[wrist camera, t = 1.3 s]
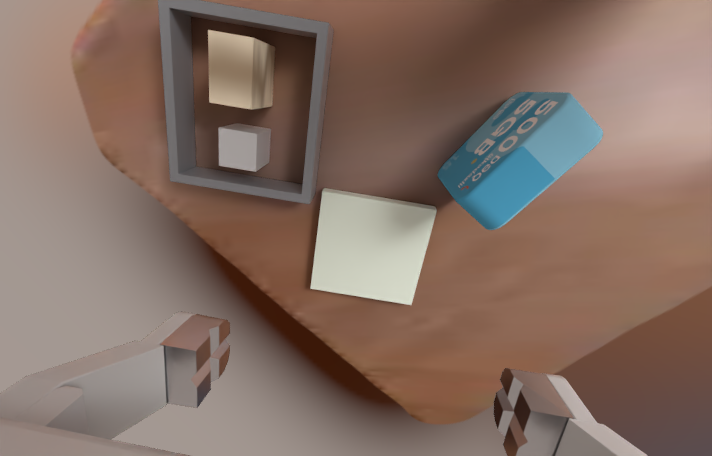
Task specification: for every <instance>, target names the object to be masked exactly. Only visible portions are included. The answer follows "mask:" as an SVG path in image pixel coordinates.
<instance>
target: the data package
mask: <svg viewBox="0 0 712 456" xmlns="http://www.w3.org/2000/svg"><path fill="white" fill-rule="evenodd" d="M602 136H603V131H602V129H601V128H600V127H599V126H598V124H597V123H596V122H595V121H594V120H593V119H592V118H591V116H590V115H589V114H588V113H587V112H586V111H585V110H584V108H583V107H582V106H581V105H580V104H579V103H578V101H577V100H576V99H575V98H574V97H573V96H572V95H571V94H570V93H556V92H519V93H517V94H515V95H513V96H512V97H510V98H509V99H508V100H507V101H506V102H505V103H504V104H503V105H502V106H501V107H500V108H499V109H498V110H497V111H496V112H495V113H494V114H493V115H492V116H491V117H490V118H489V119H488V120H487V121H486V122H485V123H484V124H483V125H482V126H481V127H480V128H479V129H478V130H477V131H476V132H475V133H474V134H473V135H472V136H471V137H470V138H469V139H468V140H467V141H466V142H465V143H464V144H463V145H462V146H461V147H460V148H459V149H458V150H457V151H456V152H455V153H454V154H453V155H452V156H451V157H450V158H449V159H448V160H447V161H446V162H445V163H444V165H443V166H442V167H441V168H440V170H439V172H438V178H439V179H440V181H441V182H442V183H443V185H444V186H445V187H446V189H447V190H448V191H449V193H450V194H451V195H452V197H453V198H454V199H455V201H456V202H457V203H458V204H460V205H461V206H462V207H463V208H464V209H465V210H466V211H467V212H468V213H469V214H470V215H471V216H473V217H474V218H475V219H476V220H477V221H478V222H479V223H480V224H481V225H482V226H483V227H485V228H486V229H488V230H495V229H498V228H500V227H502V226H503V225H505V224H506V223H507V222H509V221H510V220H511V219H512V218H513V217H514V216H515V215H517V214H518V213H519V212H520V211H521V210H522V209H524V208H525V207H526V206H527V205H528V204H529V203H531V202H532V201H533V200H534V199H535V198H536V197H537V196H539V195H540V194H541V193H542V192H543V191H544V190H546V189H547V188H548V187H549V186H550V185H551V184H553V183H554V182H555V181H556V180H557V179H558V178H559V177H561V176H562V175H563V174H564V173H565V172H566V171H568V170H569V169H570V168H571V167H572V166H573V165H575V164H576V163H577V162H578V161H579V160H580V159H582V158H583V157H584V156H585V155H586V154H587V153H588V152H590V151H591V150H592V149H593V148H594V147H595V146H596V145H597V144H598V143H599V142H600V140H601V138H602Z"/></svg>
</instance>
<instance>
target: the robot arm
mask: <svg viewBox="0 0 712 456" xmlns="http://www.w3.org/2000/svg"><path fill="white" fill-rule="evenodd" d="M229 333H230V323H229V322H228V320H224V319H219V318H214V317H208V316H204V315H199V314H193V313H187V312H177V313H175V314H174V315H173V316H171V317H170V318H169V319H168V320H166V321H165V322H164V323H163V324H161V325H160V326H159V327H158V328H157V329H155V330H154V331H153V332H152V333H150V334H149V335H148V336H147V337H145V338H144V339H143V340H141V341H132V342H129V343H126V344H123V345H120V346H117V347H114V348H111V349H108V350H105V351H102V352H99V353H96V354H93V355H90V356H87V357H83V358H80V359H77V360H74V361H71V362H68V363H65V364H62V365H59V366H56V367H53V368H50V369H47V370H44V371H41V372H38V373H35V374H32V375H28V376H26V377H24V378H23V379H21V380H20V381H18V382H16V383H15V384H13V385H12V386H10V387H9V388H7V389H6V390H4V391H3V392H1V393H0V456H189V455H185V454H180V453H174V452H170V451H165V450H160V449H155V448H150V447H145V446H140V445H135V444H130V443H126V442H121V441H115V440H111V439H112V438H114V437H115V436H117V435H119V434H120V433H122V432H124V431H125V430H127V429H128V428H130V427H132V426H133V425H135V424H137V423H138V422H140V421H142V420H143V419H145V418H146V417H148V416H149V415H151V414H153V413H155V412H156V411H158V410H159V409H161V408H163V407H164V406H166V405H167V403H168V404H175V405H181V406H187V407H193V408H198V406H199V405H200V404H201V402H202V401H203V399H204V398H205V397H206V395H207V394H208V393H209V391H210V390H211V382H212V381H214V380H216V379H218V378H219V377H220V376H221V374H222V373H223V371H224V370H225V367H226V365H227V362H228V358H229V352H230V345H229V344H228V342H227V341H226V339H225V338H226V337H227V336H228V335H229ZM500 381H501V383H502V385H503V388H502V389H500V390H499V391H498V392H496V395H495V399H494V419H495V423H496V426H497V429H498V430H499V431H500V432H501V433H502V434H503V435H504V436H505V439H504V443H503V446H504V448H505V451H506V454H507V456H647V455H646V454H645V453H643V452H642V451H640V450H639V449H638V448H636V447H635V446H633V445H632V444H630V443H629V442H628V441H626V440H625V439H623V438H622V437H620V436H619V435H618V434H616V433H615V432H613V431H612V430H611V429H609V428H608V427H607V426H605V425H603V424H598V423H597V422H596V421H595V419H594V418H593V417H592V415H591V414H590V412H589V411H588V410H587V408H586V407H585V406H584V404H583V403H582V401H581V400H580V398H579V397H578V396H577V394H576V393H575V391H574V390H573V389H572V387H571V386H570V384H569V383H568V382H567V380H566V379H565V378H563V377H562V376H558V375H551V374H544V373H542V374H541V373H534V372H528V371H522V370H515V369H509V368H505V369H504V371H503V372H502V375H501V378H500Z"/></svg>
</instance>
